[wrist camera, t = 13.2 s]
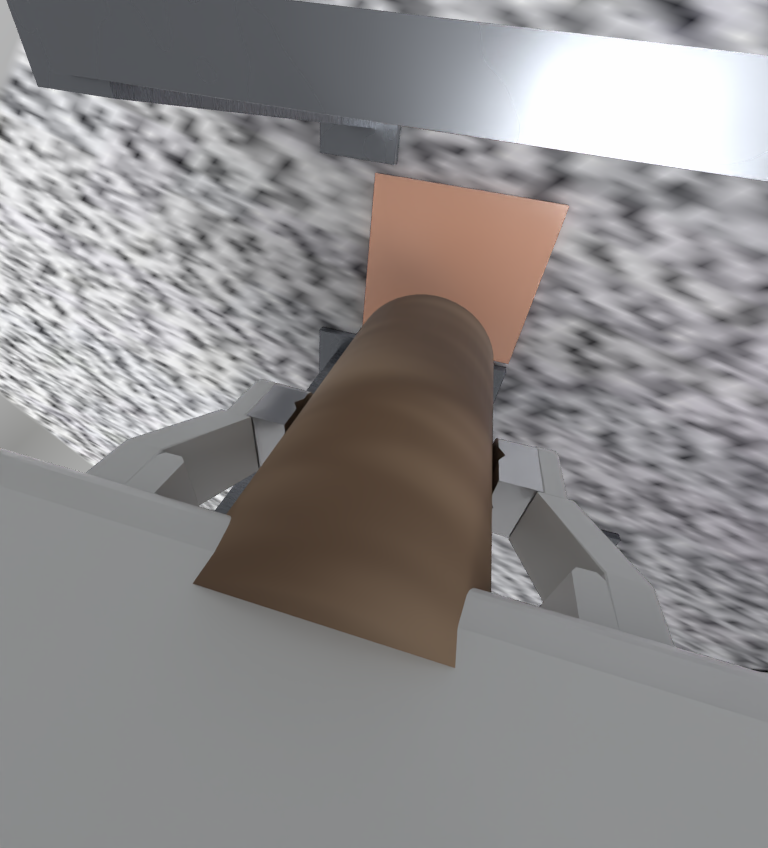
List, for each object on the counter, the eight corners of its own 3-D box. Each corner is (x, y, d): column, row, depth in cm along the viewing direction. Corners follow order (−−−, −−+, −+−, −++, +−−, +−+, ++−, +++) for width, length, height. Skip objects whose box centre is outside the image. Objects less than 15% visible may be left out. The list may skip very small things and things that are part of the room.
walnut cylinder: (514, 311, 11) (554, 675, 4) (471, 431, 14) (443, 759, 7) (361, 280, 12) (113, 536, 4) (352, 402, 15) (201, 674, 7)
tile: (508, 361, 24) (508, 363, 23) (363, 329, 25) (361, 331, 25) (568, 204, 18) (569, 206, 18) (377, 172, 19) (375, 173, 19)
